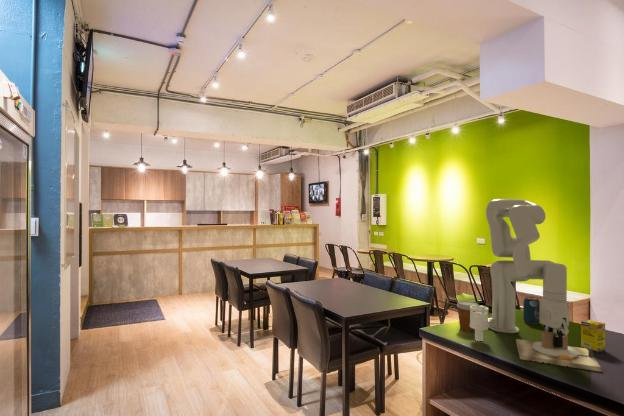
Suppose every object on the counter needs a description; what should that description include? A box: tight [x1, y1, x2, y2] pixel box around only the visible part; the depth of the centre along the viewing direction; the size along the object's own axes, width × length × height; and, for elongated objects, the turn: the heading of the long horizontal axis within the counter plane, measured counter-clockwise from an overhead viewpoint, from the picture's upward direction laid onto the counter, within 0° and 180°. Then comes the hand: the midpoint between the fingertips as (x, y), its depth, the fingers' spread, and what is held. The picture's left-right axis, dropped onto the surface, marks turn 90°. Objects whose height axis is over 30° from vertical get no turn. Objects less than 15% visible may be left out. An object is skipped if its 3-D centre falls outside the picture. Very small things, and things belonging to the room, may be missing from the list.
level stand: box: [515, 338, 602, 372], centre depth 141 cm, size 24×20×4 cm
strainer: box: [470, 304, 489, 342], centre depth 157 cm, size 7×7×15 cm
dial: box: [533, 331, 577, 359], centre depth 141 cm, size 14×16×7 cm
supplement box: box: [580, 319, 606, 354], centre depth 149 cm, size 6×6×11 cm
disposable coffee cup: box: [456, 300, 479, 332], centre depth 173 cm, size 10×10×12 cm
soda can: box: [522, 296, 541, 325], centre depth 186 cm, size 7×7×12 cm
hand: (554, 345), depth 141 cm, fingers closed on dial, 3 cm apart
